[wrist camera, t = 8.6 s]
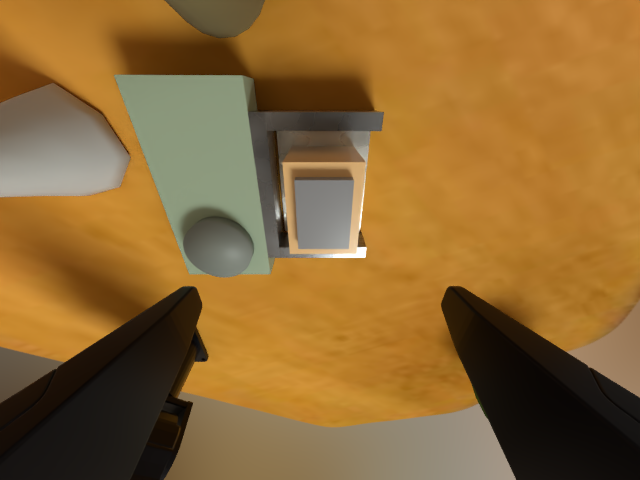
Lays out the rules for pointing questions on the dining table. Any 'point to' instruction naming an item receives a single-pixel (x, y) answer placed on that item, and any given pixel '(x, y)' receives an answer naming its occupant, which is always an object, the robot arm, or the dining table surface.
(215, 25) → the olive pepper mill
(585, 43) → the dining table surface
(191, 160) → the sage green knobbed slab
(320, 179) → the tan and grey block
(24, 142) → the flask
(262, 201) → the bracket
